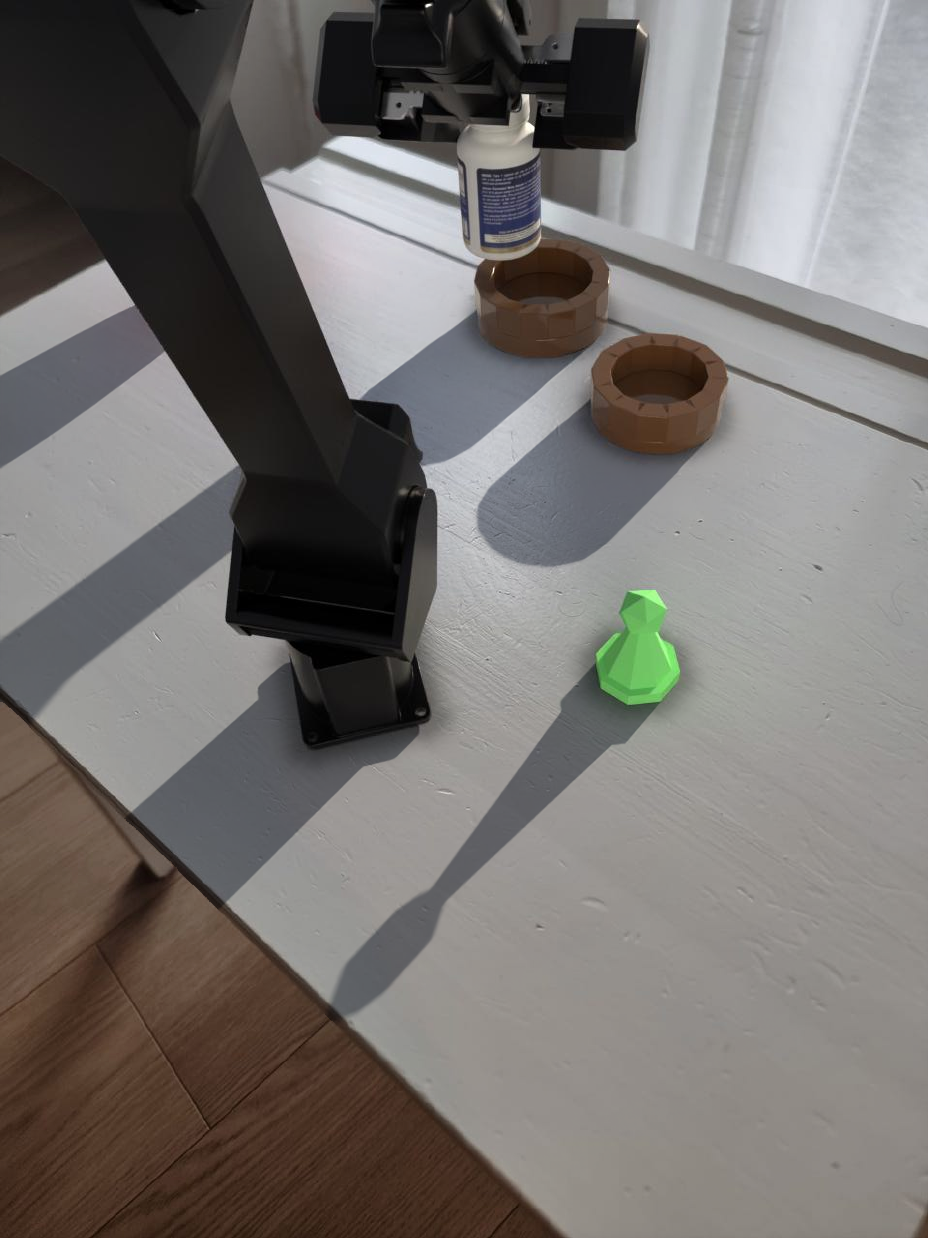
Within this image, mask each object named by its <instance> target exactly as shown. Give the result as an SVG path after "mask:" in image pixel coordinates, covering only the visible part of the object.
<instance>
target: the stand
mask: <svg viewBox="0 0 928 1238" xmlns="http://www.w3.org/2000/svg"><path fill="white" fill-rule="evenodd" d="M473 287H474V288H473V289H474V303H475V307H476V315H477V327H478V329H479V332H480V334H481V336H482V337H483V338H484V339H485V341H486V342H488V343H489V344H490V345H491V346H493V347H494V348H496V349H498V350H499V351H502V352H504V353H507V354H510V355H513V356H517V357H522V358H527V359H528V358H530V359H549V358H551V359H552V358H557V357H563V356H567V355H570V354H573V353H576V352H579V351H581V350H583V349H585V348H587V347H589V346H590V345H592V344H593V343H595V342H596V341H597V340H598V339H599V338H600V337H601V335H602V334H603V332H604V331H605V329H606V327H607V324H608V320H609V319H608V318H609V317H608V316H609V300H610V288H611V269H610V266H609V265H608V263H607V261H606V260H605V259H604V257H603V255H602V254H600V253H599V252H597V251H595V250H594V249H592V248H591V247H589V246H587V245H585V244H583V243H579V242H575V241H572V240H568V239H563V238H540V242H539V244H538V245H537V247H536V248H535V249H534V250H533V251H531V252H530V253H528V254H527V255H525V256H522V257H520V258H517V259H513V260H504V261H496V260H488V259H484V258H483V260H482V261H481V262H480V263H479V264H478V265H477V267H476V270H475V275H474V279H473Z"/></svg>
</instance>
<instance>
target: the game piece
mask: <svg viewBox="0 0 928 1238" xmlns="http://www.w3.org/2000/svg"><path fill="white" fill-rule="evenodd" d="M667 612H668V608H667V606H666V605H665V603H664V602H663V600H662V598H661V597H660V595H659V593H658V592H657V590H656V589H641V590H640V589H639V590H627V591H626V593H625V596H624V598H623V602H622V604H621V607H620V610H619V613H618V615H619V617H620V618H621V620H622V621H623V623H624V625H625V627H624V628H623V630H622V632H617V633H614V634H613V635H612V636H611V637H610V638H609V639H608V640H606V642H605V643H604V645H603V646H601V648H600V649H599V650H598V651H597V652H596V653H595V667H596V671H597V677H598V682H599V688H600V689H601V690H603V691H604V692H606V693H607V694H609V695H610V696H612V697H613V698H616V699H617V700H618V701H620V702H622V703H624V704H625V705H627V706H631V705H632V706H633V705H642V704H643V705H644V704H651V703H661V701H663V699H664V698H665V697H666V696H667V695H668V694H669V692H670V691H671V690H672V689H673V688H674V687H675V685H676V684H677V683H678V682H679V680H680V675H681V669H680V666H679V662H678V658H677V654H676V650H675V647H674V645H673V644H671V643H669V642H668V641H666V640H664V639H662V638H661V635H659V633H660V629H661V628H662V625H663V623H664V620H665V617H666V614H667Z"/></svg>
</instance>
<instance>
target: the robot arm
mask: <svg viewBox="0 0 928 1238" xmlns="http://www.w3.org/2000/svg"><path fill="white" fill-rule="evenodd" d="M254 1H255V0H0V157H1V158H3V159H5V160H7V161H8V162H10V163H11V164H13V165H14V166H16V167H17V168H19V169H21V170H22V171H24V172H26V173H27V174H29V176H30V175H31V176H32V177H33V178H35V179H37V180H38V181H40V182H42V184H45V185H47V186H48V187H49V188H50V189H53V190H54V191H55V192H57V193H58V194H59V195H60V196H61V197H62V198H63V199H64V200H65V201H66V202H67V204H68V205H69V206H70V207H71V209H72V210H73V212H74V213H75V215H76V216H77V218H78V219H79V221H80V223H81V224H82V226H83V227H84V229H85V230H86V232H87V233H88V235H89V236H90V238H91V239H92V241H93V243H94V244H95V246H96V247H97V249H98V250H99V252H100V254H101V255H102V256H103V258H104V259H105V261H106V263H107V264H108V265H109V267H110V269H111V270H112V272H113V273H114V275H115V277H116V278H117V280H118V281H119V283H120V284H121V286H122V287H123V289H124V290H125V292H126V293H127V295H128V296H129V298H130V300H131V301H132V302H133V304H134V306H135V307H136V309H137V310H138V313H140V315H141V316H142V318H143V320H144V321H145V322H146V324H147V326H148V327H149V329H150V330H151V332H152V333H153V335H154V337H155V338H156V340H157V341H158V343H159V344H160V346H161V347H162V349H163V350H164V352H165V354H166V355H167V357H168V358H169V360H170V361H171V363H172V365H173V366H174V367H175V369H176V371H177V372H178V374H179V376H181V378H182V380H183V381H184V383H185V384H186V386H187V388H188V389H189V390H190V392H191V394H192V395H193V397H194V398H195V400H196V401H197V403H198V405H199V406H200V407H201V409H202V411H203V413H204V414H205V415H206V417H207V418H208V420H209V421H210V423H211V424H212V426H213V427H214V429H215V431H216V432H217V434H218V435H219V437H220V438H221V440H222V441H223V443H224V444H225V446H226V447H227V449H228V450H229V452H230V454H231V455H232V457H233V458H234V460H235V461H236V463H237V464H238V466H239V468H240V470H241V474H240V476H239V480H238V484H237V486H236V489H235V491H234V495H233V497H232V501H231V504H230V507H229V509H228V515H229V518H230V520H231V522H232V524H233V534H232V543H231V554H230V561H229V562H230V564H229V574H228V583H227V592H226V593H227V594H226V605H225V615H224V620H225V623H226V624H227V625H228V627H230V628H231V629H232V630H234V631H235V632H236V633H237V634H238V635H240V636H244V637H245V636H246V637H252V636H256V637H263V638H269V639H275V640H282V641H284V642H285V645H286V648H287V651H288V656H289V663H290V669H291V675H292V681H293V687H294V695H295V701H296V706H297V713H298V719H299V725H300V731H301V738H302V742H303V744H304V747H305V748H306V749H307V750H310V751H316V750H320V749H324V748H329V747H332V746H337V745H341V744H346V743H349V742H350V743H351V742H354V741H358V740H362V739H367V738H371V737H374V736H380V735H384V734H388V733H392V732H396V731H399V730H404V729H409V728H412V727H416V726H422V725H425V724H427V723H429V722H430V721H431V719H432V709H431V705H430V701H429V697H428V694H427V689H426V685H425V682H424V678H423V674H422V670H421V666H420V663H419V659H418V655H417V652H416V651H417V648H418V645H419V641H420V639H421V635H422V634H423V633H422V632H423V629H424V628H425V624H426V621H427V619H428V618H427V617H428V615H429V613H430V609H431V606H432V603H433V601H434V598H435V595H436V592H437V588H438V500H437V495H436V491H435V490H434V488H430V487H429V488H428V483H427V478H426V473H425V472H424V469H423V468H422V466H421V462H422V461H423V459H424V458H423V457H424V452H423V450H421V449H419V447H418V445H417V443H416V440H415V435H414V432H413V427H412V422H411V418H410V415H409V414H408V413H407V412H406V411H405V410H404V408H403V407H402V406H401V405H400V404H398V403H395V402H385V401H378V400H377V401H376V400H368V399H357V398H350V396H349V393H348V392H347V389H346V387H345V384H344V382H343V379H342V377H341V374H340V372H339V369H338V367H337V364H336V362H335V360H334V357H333V354H332V352H331V350H330V347H329V345H328V343H327V339H326V338H325V335H324V333H323V330H322V327H321V325H320V322H319V320H318V318H317V315H316V313H315V310H314V307H313V306H312V303H311V300H310V298H309V295H308V293H307V291H306V289H305V286H304V283H303V281H302V278H301V276H300V274H299V271H298V268H297V265H296V263H295V261H294V258H293V256H292V254H291V251H290V249H289V246H288V244H287V242H286V239H285V237H284V234H283V232H282V229H281V226H280V225H279V222H278V219H277V217H276V214H275V212H274V210H273V208H272V207H273V206H272V204H271V203H270V200H269V198H268V194H267V192H266V190H265V187H264V185H263V183H262V180H261V178H260V175H259V172H258V170H257V168H256V165H255V162H254V161H253V158H252V156H251V155H252V154H251V152H250V150H249V148H248V146H247V143H246V141H245V139H244V136H243V133H242V131H241V129H240V126H239V124H238V121H237V118H236V116H235V112H234V108H233V105H232V101H231V96H232V93H233V92H232V91H233V87H234V83H235V79H236V74H237V71H238V67H239V63H240V58H241V55H242V51H243V47H244V42H245V37H246V33H247V29H248V26H249V21H250V17H251V13H252V9H253V6H254ZM370 1H371V2H372V4H373V6H374V12H360V11H359V12H358V11H332V12H331V14H330V16H328V17H327V19H326V20H325V22H324V23H323V24H322V26H321V27H320V28H319V37H318V44H317V45H318V46H317V56H316V65H315V73H314V74H315V75H314V84H313V93H312V104H313V111H314V115H315V117H316V118H317V119H318V121H319V122H320V124H322V125H323V127H325V129H326V130H327V131H328V132H329V133H330V134H331V136H332V137H333V136H335V137H351V138H352V137H354V138H373V139H374V138H375V137H378V138H379V139H380V140H382V141H391V142H409V143H410V142H411V143H428V144H429V143H433V144H434V143H436V144H457V141H458V138H459V135H460V134H461V132H462V131H463V130H464V129H465V128H466V126H465V125H468V124H478V125H498V126H509V121H510V113H518V112H520V111H521V108H522V101H523V99H522V94H528V95H529V96H530V95H532V96H535V99H534V100H535V101H534V102H535V104H536V114H535V121H534V127H535V128H534V136H533V143H532V147H533V148H539V149H542V150H559V151H577V150H579V149H580V150H598V151H599V150H600V151H601V150H602V151H617V152H618V151H620V152H626V151H627V150H628V149H629V148H631V147H632V146H633V145H634V144H635V143H636V142H638V136H639V135H638V134H639V129H640V120H641V115H642V114H641V113H642V108H643V107H642V106H643V99H644V91H645V86H646V85H645V84H646V78H647V72H648V65H649V64H648V63H649V57H650V52H651V51H650V50H651V42H650V32H649V31H648V29H647V28H646V26H645V25H644V23H643V22H642V21H641V19H634V18H633V19H632V18H631V19H630V18H629V19H628V18H595V17H594V18H591V17H579V18H578V19H577V21H576V24H575V26H574V30H573V33H563V32H560V33H558V32H555V33H552V34H550V35H548V36H547V38H546V39H545V40H544V42H543V43H542V44H541V45H534V44H533V45H531V44H530V45H528V44H521V43H520V41H521V37H522V36H524V37H528V36H530V32H531V25H532V24H531V23H532V18H533V17H532V16H533V11H532V8H531V4H530V1H529V0H370ZM419 713H424V714H423V715H419ZM312 738H316V739H315V740H313V741H311V739H312Z"/></svg>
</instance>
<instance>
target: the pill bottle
mask: <svg viewBox="0 0 928 1238" xmlns="http://www.w3.org/2000/svg"><path fill="white" fill-rule="evenodd" d="M522 99H523V101H522V108H521V111H520V112H518V113H510V121H509V126H498V125H478V124H467V126H465V129H464V130H463V131H462V132H461V134H460V135H459V138H458V141H457V143H456V158H457V172H458V187H459V203H460V216H461V217H460V218H461V231H462V239H463V244H464V247H465V248H466V249H467V250H468V252H469V253H470V254H472V255H474V256H475V257H478V258H480V259H483V260H484V259H488V260H496V261H504V260H513V259H517V258H520V257H522V256H525V255H527V254H528V253H530V252H531V251H533V250H534V249H535V248H536V247H537V245H538V244H539V242H540V239H542V238H541V237H542V183H541V182H542V181H541V180H542V179H541V177H542V175H541V174H542V172H541V170H542V168H541V162H542V160H541V158H542V156H541V153H542V151H541V149H539V148H533V147H532V143H533V136H534V128H535V125H532V124H531V122H529V119H530V113H531V108H530V95H528V94H522Z"/></svg>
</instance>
